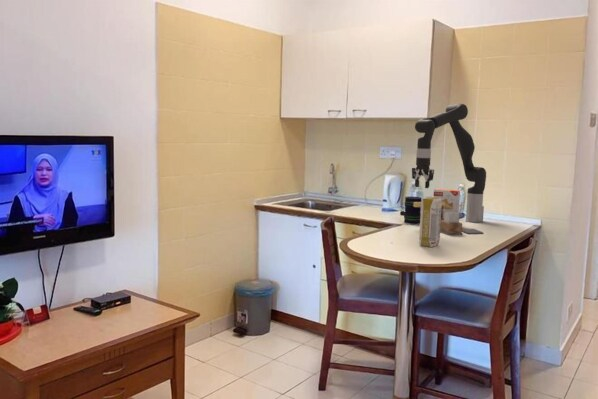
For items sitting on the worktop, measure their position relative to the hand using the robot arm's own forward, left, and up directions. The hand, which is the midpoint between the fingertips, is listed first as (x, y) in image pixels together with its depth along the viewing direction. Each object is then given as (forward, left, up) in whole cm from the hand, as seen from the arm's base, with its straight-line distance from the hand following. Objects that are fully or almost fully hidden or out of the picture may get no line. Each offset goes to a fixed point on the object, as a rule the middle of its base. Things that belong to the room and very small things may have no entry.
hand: (421, 187), depth 286 cm
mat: (-26, +9, -24) cm, 36 cm away
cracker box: (-21, -13, -24) cm, 34 cm away
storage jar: (-5, -23, -24) cm, 33 cm away
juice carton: (+12, +37, -24) cm, 46 cm away
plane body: (-13, +5, -24) cm, 28 cm away
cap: (-13, +10, -18) cm, 24 cm away
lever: (-6, -3, -17) cm, 19 cm away
